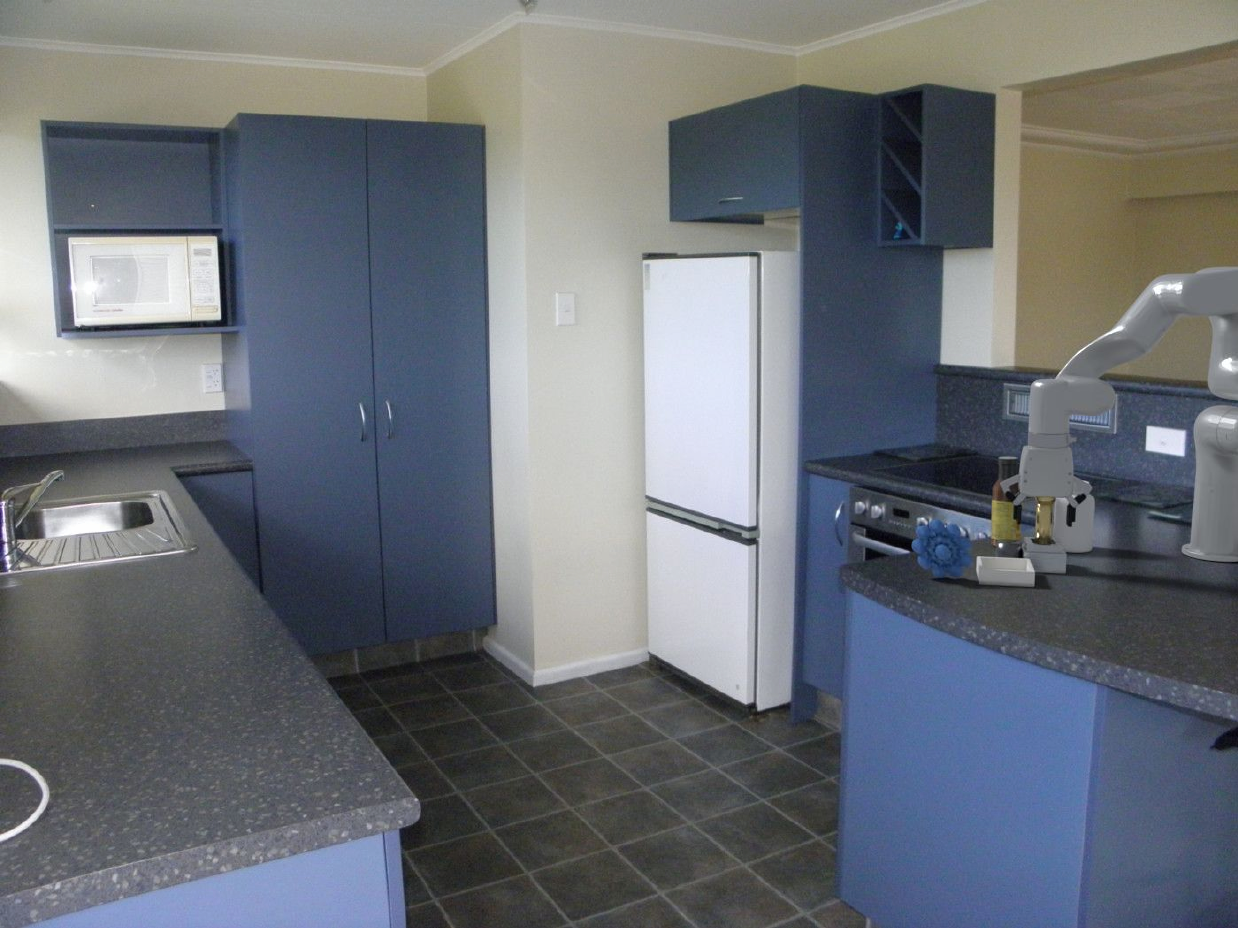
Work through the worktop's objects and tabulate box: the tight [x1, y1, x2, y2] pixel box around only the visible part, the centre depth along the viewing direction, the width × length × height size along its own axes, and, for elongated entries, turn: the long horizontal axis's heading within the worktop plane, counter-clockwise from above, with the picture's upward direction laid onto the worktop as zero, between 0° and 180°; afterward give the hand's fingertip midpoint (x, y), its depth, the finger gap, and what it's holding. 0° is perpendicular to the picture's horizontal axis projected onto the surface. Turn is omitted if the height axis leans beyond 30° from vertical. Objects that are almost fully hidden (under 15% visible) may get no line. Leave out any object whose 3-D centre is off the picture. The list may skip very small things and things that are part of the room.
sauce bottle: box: [990, 456, 1023, 548], centre depth 232 cm, size 6×6×20 cm
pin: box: [1034, 496, 1056, 544], centre depth 214 cm, size 4×4×11 cm
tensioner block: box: [995, 536, 1067, 575], centre depth 216 cm, size 13×8×6 cm, turn 74°
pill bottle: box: [1052, 479, 1096, 554], centre depth 229 cm, size 8×8×15 cm
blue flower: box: [911, 518, 974, 579], centre depth 208 cm, size 12×7×12 cm, turn 77°
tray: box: [975, 555, 1036, 588], centre depth 208 cm, size 10×10×3 cm
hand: (1043, 524), depth 214 cm, fingers open, 9 cm apart
